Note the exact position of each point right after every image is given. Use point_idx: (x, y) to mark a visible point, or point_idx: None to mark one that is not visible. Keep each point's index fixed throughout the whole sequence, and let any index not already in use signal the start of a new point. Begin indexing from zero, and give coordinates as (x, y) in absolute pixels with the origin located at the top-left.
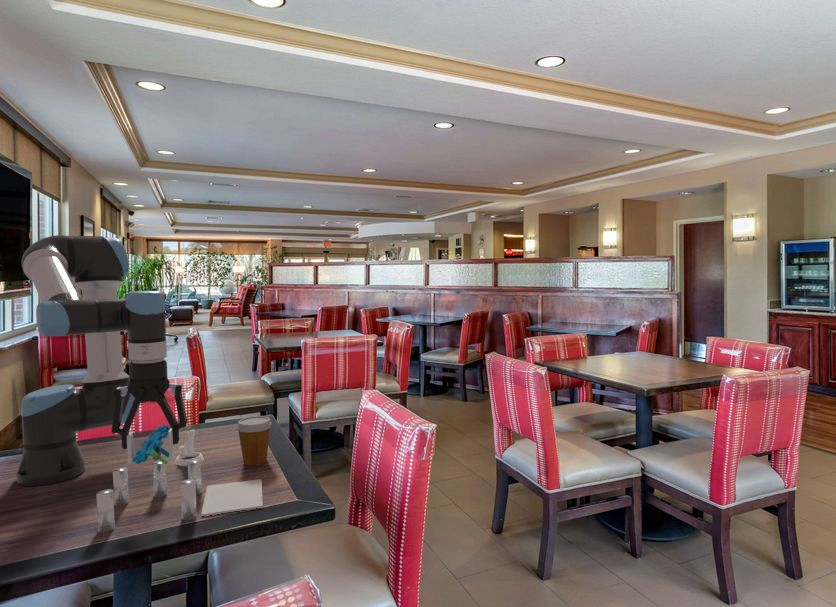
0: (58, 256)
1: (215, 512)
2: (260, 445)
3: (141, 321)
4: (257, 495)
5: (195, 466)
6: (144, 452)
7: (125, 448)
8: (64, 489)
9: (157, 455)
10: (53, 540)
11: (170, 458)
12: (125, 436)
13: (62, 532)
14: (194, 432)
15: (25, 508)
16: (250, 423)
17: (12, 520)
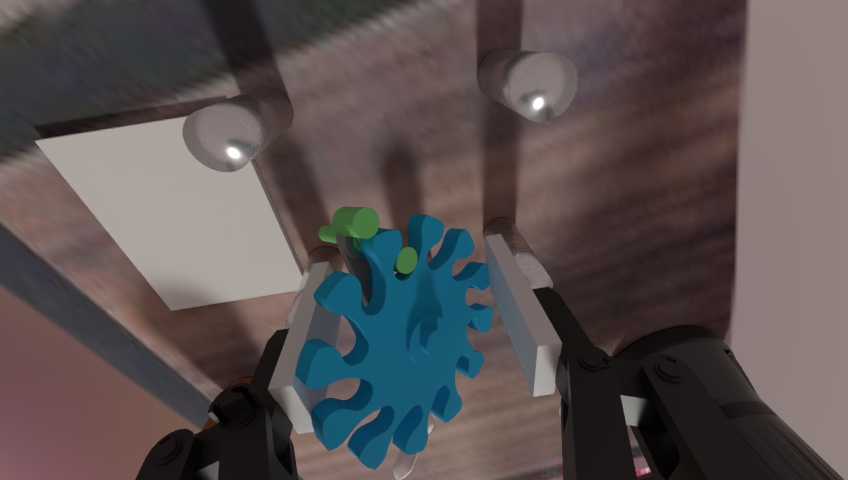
0: None
1: (184, 116)
2: (206, 428)
3: None
4: (111, 217)
5: (297, 304)
6: (436, 274)
7: (537, 290)
8: (632, 308)
9: (335, 214)
10: (632, 26)
11: (322, 266)
12: (567, 345)
13: (614, 80)
14: (393, 469)
15: (702, 234)
16: None
17: (729, 178)
